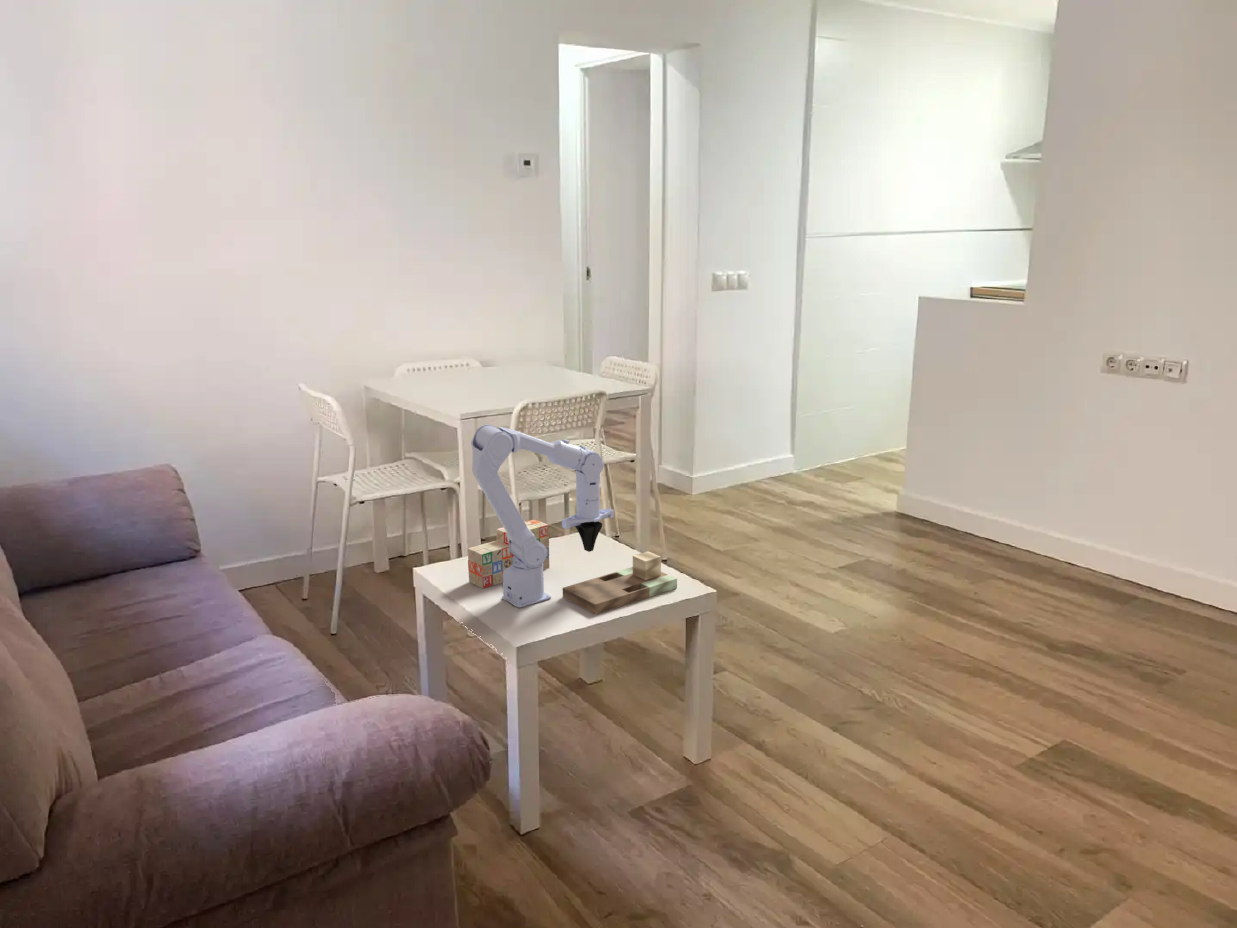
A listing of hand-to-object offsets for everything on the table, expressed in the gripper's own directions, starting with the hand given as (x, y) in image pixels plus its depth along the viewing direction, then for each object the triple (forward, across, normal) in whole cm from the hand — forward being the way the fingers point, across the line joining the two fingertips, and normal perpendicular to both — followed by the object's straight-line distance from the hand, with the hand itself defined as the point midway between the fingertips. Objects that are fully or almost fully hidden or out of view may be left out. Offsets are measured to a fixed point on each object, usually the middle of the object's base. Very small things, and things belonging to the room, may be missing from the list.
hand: (588, 550), depth 238 cm
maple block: (+7, +12, -8) cm, 16 cm away
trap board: (+9, +3, -8) cm, 13 cm away
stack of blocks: (+10, -11, +19) cm, 24 cm away
